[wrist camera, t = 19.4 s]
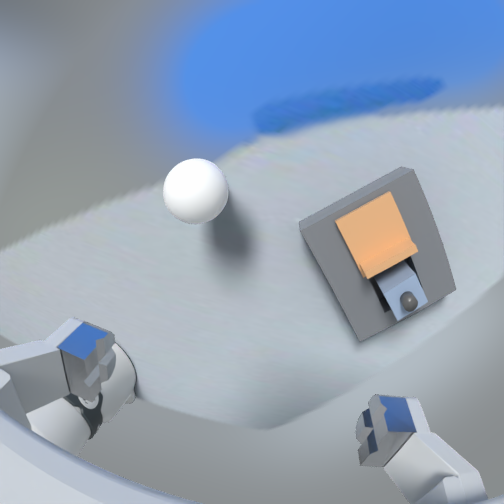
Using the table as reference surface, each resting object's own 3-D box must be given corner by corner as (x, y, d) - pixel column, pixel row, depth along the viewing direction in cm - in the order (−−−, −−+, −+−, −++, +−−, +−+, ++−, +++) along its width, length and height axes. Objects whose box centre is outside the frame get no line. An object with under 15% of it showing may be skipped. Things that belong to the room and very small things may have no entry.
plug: (382, 292, 37) (401, 328, 29) (368, 268, 37) (387, 300, 29) (408, 276, 36) (433, 308, 28) (395, 251, 35) (420, 279, 28)
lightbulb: (251, 188, 36) (235, 205, 25) (210, 216, 37) (179, 244, 27) (221, 145, 35) (192, 145, 24) (180, 175, 36) (139, 188, 26)
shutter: (362, 275, 33) (368, 287, 30) (334, 220, 31) (339, 228, 29) (413, 247, 31) (423, 257, 28) (388, 191, 30) (398, 196, 27)
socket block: (354, 324, 40) (359, 341, 36) (299, 222, 36) (300, 231, 33) (443, 276, 36) (456, 289, 32) (401, 166, 33) (413, 169, 29)
